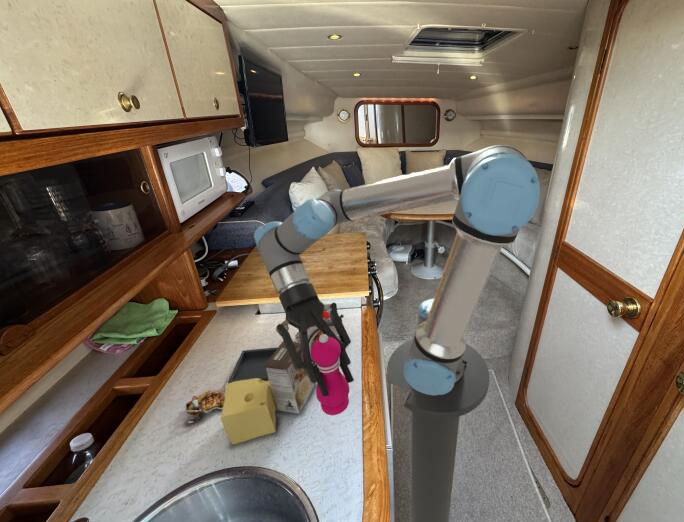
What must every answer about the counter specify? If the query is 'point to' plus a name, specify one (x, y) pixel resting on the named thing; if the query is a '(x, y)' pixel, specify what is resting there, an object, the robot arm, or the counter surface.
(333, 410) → the pepper mill
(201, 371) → the counter surface
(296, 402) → the coffee box
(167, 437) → the counter surface
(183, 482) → the counter surface
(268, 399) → the cheese
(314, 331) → the meal
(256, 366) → the spice tray
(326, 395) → the robot arm
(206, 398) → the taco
